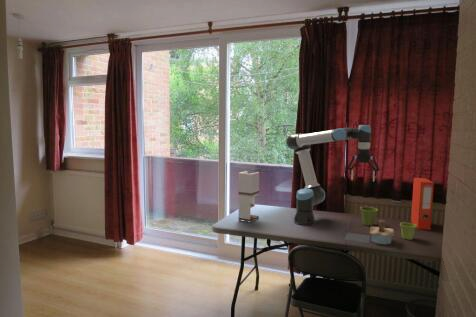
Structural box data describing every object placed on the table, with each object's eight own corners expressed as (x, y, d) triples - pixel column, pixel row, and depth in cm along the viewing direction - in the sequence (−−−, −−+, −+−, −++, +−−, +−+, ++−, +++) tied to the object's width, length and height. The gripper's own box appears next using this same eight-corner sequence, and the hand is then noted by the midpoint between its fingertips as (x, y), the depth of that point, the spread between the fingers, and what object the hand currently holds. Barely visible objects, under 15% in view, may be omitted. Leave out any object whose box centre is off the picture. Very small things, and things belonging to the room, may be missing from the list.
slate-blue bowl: (370, 243, 206) (371, 233, 205) (371, 237, 216) (372, 228, 215) (391, 245, 201) (391, 235, 200) (391, 239, 211) (391, 230, 210)
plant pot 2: (395, 235, 218) (396, 222, 217) (410, 235, 219) (410, 222, 218) (404, 241, 209) (404, 227, 208) (419, 240, 210) (419, 226, 209)
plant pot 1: (378, 227, 235) (379, 211, 234) (360, 226, 237) (361, 210, 236) (375, 222, 247) (376, 207, 245) (358, 221, 249) (358, 206, 248)
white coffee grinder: (251, 222, 247) (251, 174, 243) (238, 220, 252) (238, 172, 248) (258, 218, 256) (259, 172, 252) (246, 216, 262) (246, 170, 258)
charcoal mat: (344, 240, 210) (344, 239, 210) (347, 233, 223) (347, 232, 223) (368, 243, 205) (368, 242, 205) (370, 236, 217) (370, 235, 217)
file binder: (423, 222, 246) (425, 178, 243) (430, 230, 230) (433, 182, 226) (410, 221, 248) (413, 177, 245) (417, 229, 232) (420, 182, 228)
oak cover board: (369, 233, 204) (369, 222, 203) (370, 227, 216) (370, 216, 215) (393, 236, 199) (394, 225, 198) (393, 230, 211) (393, 219, 210)
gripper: (343, 148, 229) (342, 180, 232) (384, 149, 219) (382, 182, 222) (345, 147, 236) (344, 178, 239) (384, 148, 226) (383, 180, 228)
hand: (362, 180), depth 230 cm, fingers open, 13 cm apart
